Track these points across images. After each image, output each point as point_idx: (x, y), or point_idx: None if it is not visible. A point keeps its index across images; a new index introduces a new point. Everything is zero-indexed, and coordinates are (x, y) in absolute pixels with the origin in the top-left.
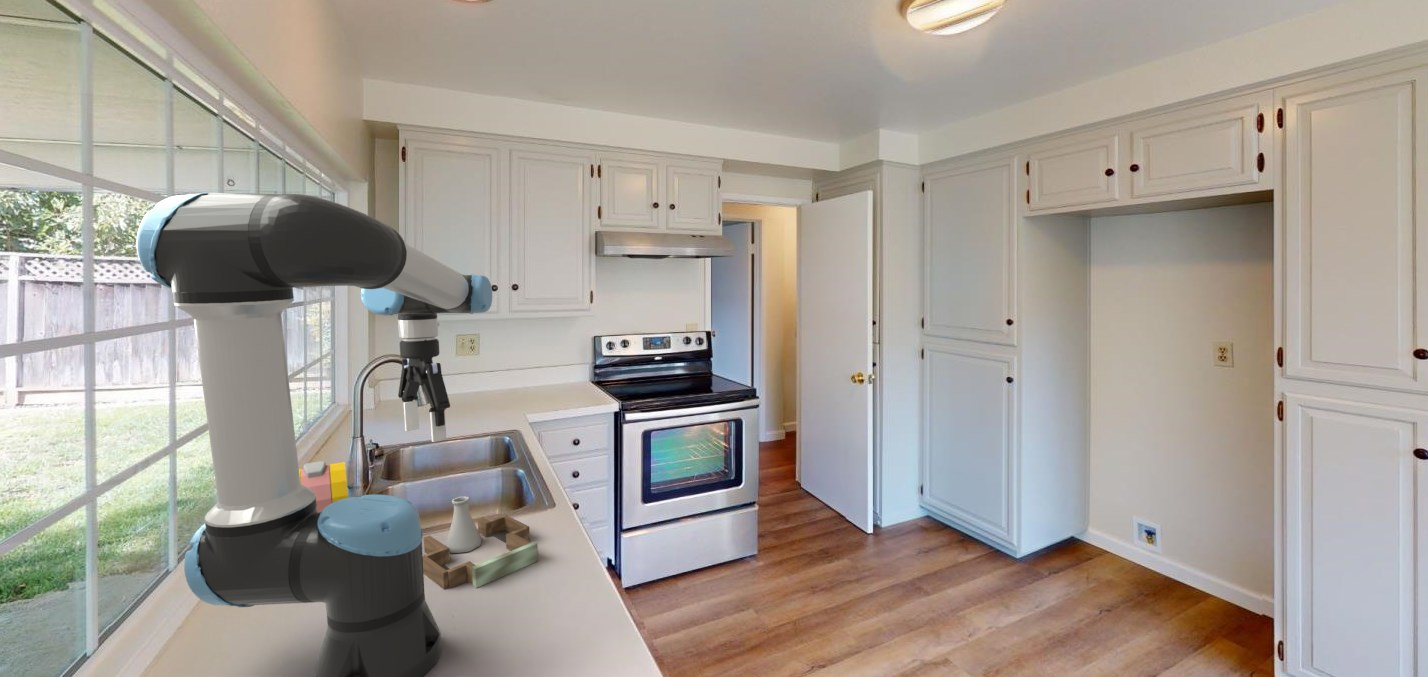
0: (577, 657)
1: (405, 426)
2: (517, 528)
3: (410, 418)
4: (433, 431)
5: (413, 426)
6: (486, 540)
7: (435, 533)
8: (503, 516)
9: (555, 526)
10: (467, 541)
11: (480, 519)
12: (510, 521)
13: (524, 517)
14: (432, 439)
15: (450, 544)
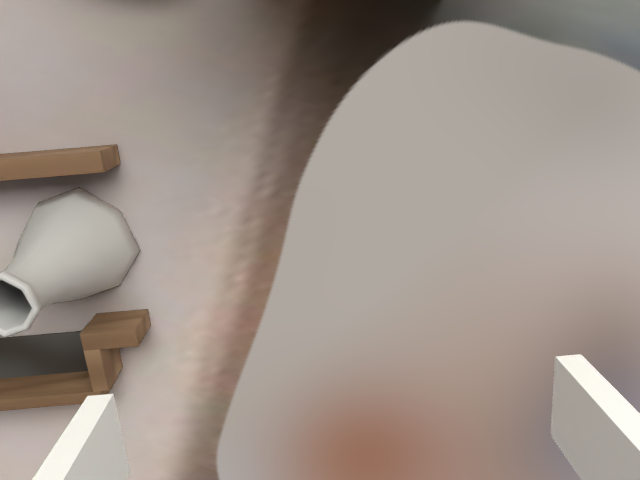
0: None
1: (587, 374)
2: (20, 389)
3: (602, 448)
4: (52, 452)
5: (564, 418)
6: (74, 305)
7: (238, 215)
8: (100, 392)
9: (37, 471)
10: (15, 250)
11: (125, 334)
12: (56, 392)
13: (163, 440)
14: (91, 405)
15: (49, 208)
